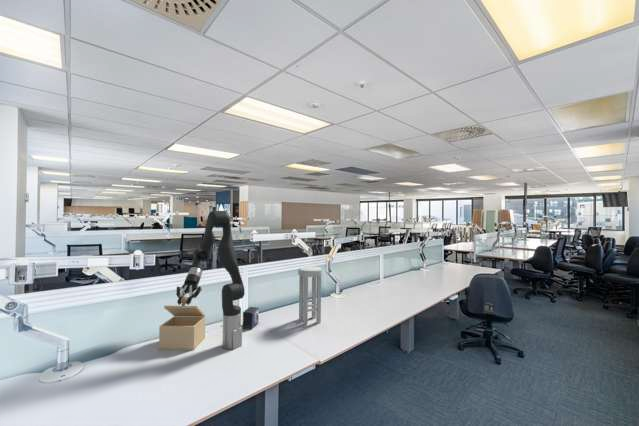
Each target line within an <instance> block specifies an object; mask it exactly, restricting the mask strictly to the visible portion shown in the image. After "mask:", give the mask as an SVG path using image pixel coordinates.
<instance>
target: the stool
mask: <svg viewBox="0 0 639 426" xmlns="http://www.w3.org/2000/svg"><path fill="white" fill-rule="evenodd" d="M297 272H298V274H297V275H298V276H299V287H298V288H299V290H298V291H299V293H298V294H299V295H298V297H299V298H298V301H299V302H298V319H299V321H302V324H303V325H304V326H307V325H308V317H309V316H308V313H309V312H311V318H312V319H316V320H315V322H316V323H317V324H321V322H322V321H321V320H322V318H321V317H322V316H321V315H322V314H321V313H322V305H321V304H322V274H323V268H321V267H318V266H302V267H299V268H298V271H297ZM309 278H311V299H309ZM308 303H310V304H308ZM309 307H311V308H309Z"/></svg>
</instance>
